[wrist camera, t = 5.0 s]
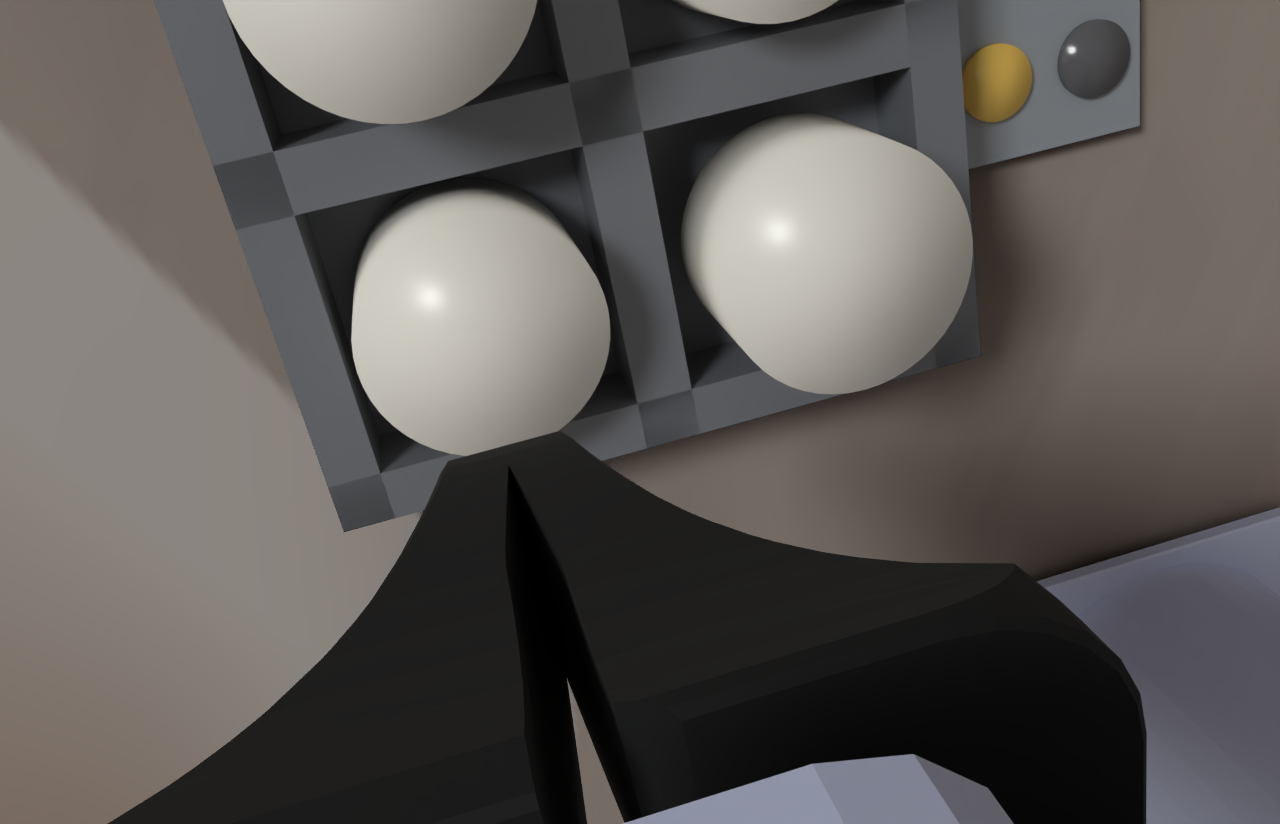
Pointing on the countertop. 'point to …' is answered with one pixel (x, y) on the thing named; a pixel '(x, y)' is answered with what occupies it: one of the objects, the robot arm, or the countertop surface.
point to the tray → (560, 197)
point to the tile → (1046, 73)
